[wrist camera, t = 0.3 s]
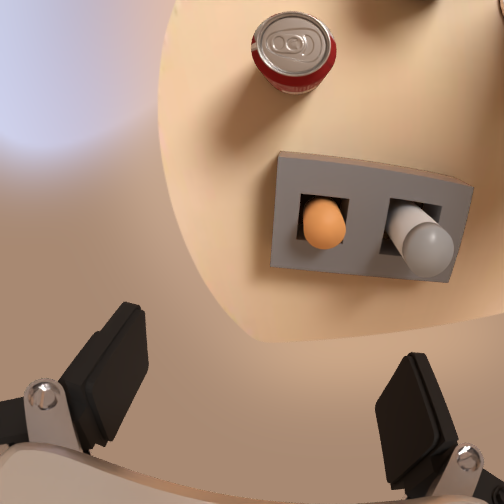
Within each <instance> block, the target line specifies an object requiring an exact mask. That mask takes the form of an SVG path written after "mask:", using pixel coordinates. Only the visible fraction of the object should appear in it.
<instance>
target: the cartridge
mask: <svg viewBox="0 0 504 504" xmlns="http://www.w3.org/2000/svg"><path fill="white" fill-rule="evenodd" d="M384 230H385V231H386V233H387V234H388V236H389V237H390V239H391V240H392V242H393V243H394V245H395V246H396V248H397V249H398V251H399V252H400V254H401V255H402V257H403V259H404V260H405V262H406V263H407V265H408V267H409V268H410V270H411V271H412V272H413V273H414V274H415V275H417V276H419V277H423V278H429V277H433V276H436V275H438V274H440V273H441V272H442V271H444V270H445V269H446V268H447V266H448V265H449V263H450V262H451V260H452V257H453V253H454V244H453V240H452V238H451V236H450V235H449V234H448V233H447V232H446V231H445V230H444V229H443V228H442V227H441V226H440V225H439V224H438V223H436V222H435V221H434V220H433V219H432V218H431V217H430V216H429V215H428V214H426V213H425V212H424V211H423V210H422V209H421V208H420V207H418V206H417V205H416V204H415V203H414V202H413V201H409V200H403V199H396V198H390V202H389V207H388V213H387V218H386V223H385V228H384Z"/></svg>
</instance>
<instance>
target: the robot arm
mask: <svg viewBox="0 0 504 504" xmlns="http://www.w3.org/2000/svg"><path fill="white" fill-rule="evenodd" d="M500 5H501V9H502V13H503V16H504V0H500ZM148 366H149V362H148V351H147V338H146V323H145V312H144V311H143V310H141V307H140V306H139V305H136V304H132V303H128V302H123V303H122V304H121V306H120V307H119V308H118V309H117V311H116V312H115V313H114V314H113V316H112V317H111V318H110V320H109V321H108V322H107V323H106V325H105V326H104V327H103V328H102V330H101V331H97V332H95V333H94V334H93V335H92V337H91V338H90V339H89V340H88V342H87V343H86V344H85V346H84V347H83V349H82V350H81V351H80V352H79V354H78V355H77V356H76V357H75V359H74V360H73V361H72V363H71V364H70V366H69V367H68V368H67V369H66V371H65V372H64V374H63V375H62V376H61V378H60V379H59V380H58V382H57V381H55V380H53V379H49V378H44V379H43V378H41V379H38V380H35V381H34V382H32V383H30V384H29V386H28V387H27V388H26V390H25V392H24V397H21V398H16V399H11V400H6V401H1V402H0V504H306V503H290V502H276V501H267V500H258V499H251V498H244V497H238V496H231V495H226V494H220V493H215V492H210V491H205V490H200V489H196V488H191V487H187V486H184V485H180V484H176V483H172V482H168V481H165V480H161V479H158V478H155V477H151V476H148V475H145V474H142V473H138V472H135V471H132V470H129V469H126V468H124V467H121V466H118V465H115V464H112V463H109V462H107V461H104V460H102V459H99V458H96V457H93V455H92V452H91V449H93V447H94V445H95V443H96V444H98V445H101V446H103V447H105V446H106V444H107V442H108V441H113V439H114V438H115V436H116V434H117V431H118V429H119V427H120V425H121V423H122V421H123V419H124V417H125V415H126V413H127V411H128V409H129V407H130V405H131V403H132V401H133V399H134V397H135V395H136V393H137V391H138V389H139V387H140V385H141V383H142V381H143V379H144V377H145V375H146V373H147V371H148ZM375 413H376V418H377V423H378V429H379V434H380V440H381V445H382V452H383V458H384V464H385V471H386V478H387V482H388V483H390V484H391V490H396V489H405V495H404V496H403V498H402V499H401V500H399V501H387V502H375V503H358V504H504V482H503V481H501V480H500V479H498V478H497V477H495V476H494V475H492V474H491V473H489V472H488V471H486V470H485V469H483V465H484V459H483V455H482V453H481V451H480V450H479V449H478V448H477V447H476V446H475V445H473V444H470V443H462V444H459V445H458V443H457V440H458V436H457V433H456V430H455V427H454V424H453V421H452V419H451V416H450V413H449V411H448V408H447V405H446V403H445V400H444V398H443V395H442V392H441V390H440V387H439V385H438V383H437V380H436V378H435V375H434V373H433V371H432V368H431V366H430V364H429V361H428V359H427V357H426V355H425V354H424V353H413V352H411V353H409V354H408V355H407V356H404V357H403V359H402V361H401V362H400V364H399V366H398V368H397V369H396V371H395V373H394V375H393V376H392V378H391V380H390V381H389V383H388V385H387V386H386V388H385V390H384V391H383V393H382V394H381V396H380V397H379V399H378V400H377V402H376V405H375Z"/></svg>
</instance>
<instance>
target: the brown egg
mask: <svg viewBox="0 0 504 504" xmlns="http://www.w3.org/2000/svg"><path fill="white" fill-rule="evenodd" d="M303 225H304V235H305V238H306V240H307V241H308V242H309V243H310V244H311V245H312V246H314V247H315V248H318V249H331V248H333V247H335V246H337V245H338V244H339V243H340V242H341V241H342V240H343V238H344V236H345V233H346V226H345V222H344V220H343V217H342V215H341V212H340V210H339V208H338V205H337V204H336V202H335V201H334V200H333V199H331V198H329V197H327V196H316V197H313V198H311V199H310V200H309V201H308V202H307V203H306V204H305V206H304V209H303Z"/></svg>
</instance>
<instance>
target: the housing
mask: <svg viewBox="0 0 504 504" xmlns="http://www.w3.org/2000/svg"><path fill="white" fill-rule="evenodd" d="M473 190H474V187H472V186H471V185H469V184H467V183H465V182H463V181H461V180H459V179H457V178H455V177H451V176H446V175H442V174H437V173H432V172H427V171H422V170H417V169H412V168H407V167H401V166H395V165H389V164H383V163H377V162H371V161H364V160H357V159H350V158H342V157H334V156H326V155H317V154H307V153H297V152H285V151H280V153H279V156H278V166H277V181H276V196H275V210H274V223H273V237H272V250H271V263H270V267H279V268H289V269H299V270H309V271H320V272H330V273H341V274H351V275H362V276H373V277H385V278H396V279H407V280H419V281H431V282H443V283H448V282H449V279H450V276H451V273H452V270H453V267H454V264H455V261H456V257H457V254H458V251H459V247H460V244H461V240H462V236H463V233H464V229H465V225H466V221H467V217H468V213H469V208H470V204H471V199H472V195H473ZM301 194H311V195H321V196H330V197H338V198H341V205H340V212H341V215H342V217H343V220H344V222H345V226H346V233H345V236H344V238H343V240H342V241H341V242H340V243H339V244H338V245H337V246H335V247H333V248H331V249H318V248H315V247H314V246H312V245H311V244H310V243H309V242H308V241H307V240H306V238H305V235H304V225H303V224H298V217H299V207H300V196H301ZM390 198H396V199H403V200H409V201H415V202H422V203H424V206H423V211H424V212H425V213H426V214H428V215H429V216H430V217H431V218H432V219H433V220H434V221H435V222H436V223H438V224H439V225H440V226H441V227H442V228H443V229H444V230H445V231H446V232H447V233H448V234H449V235H450V236H451V238H452V240H453V244H454V253H453V257H452V260H451V262H450V263H449V265H448V266H447V268H446V269H445V270H444V271H442V272H441V273H440V274H438V275H436V276H433V277H429V278H423V277H419V276H417V275H415V274H414V273H413V272H412V271H411V270H410V268H409V267H408V265H407V263H406V262H405V260H404V259H403V257H402V255H401V254H400V252H399V251H398V249H397V248H396V246H395V245H394V243H393V242H392V240H391V239H385V238H383V233H384V228H385V223H386V218H387V213H388V207H389V202H390Z"/></svg>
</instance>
